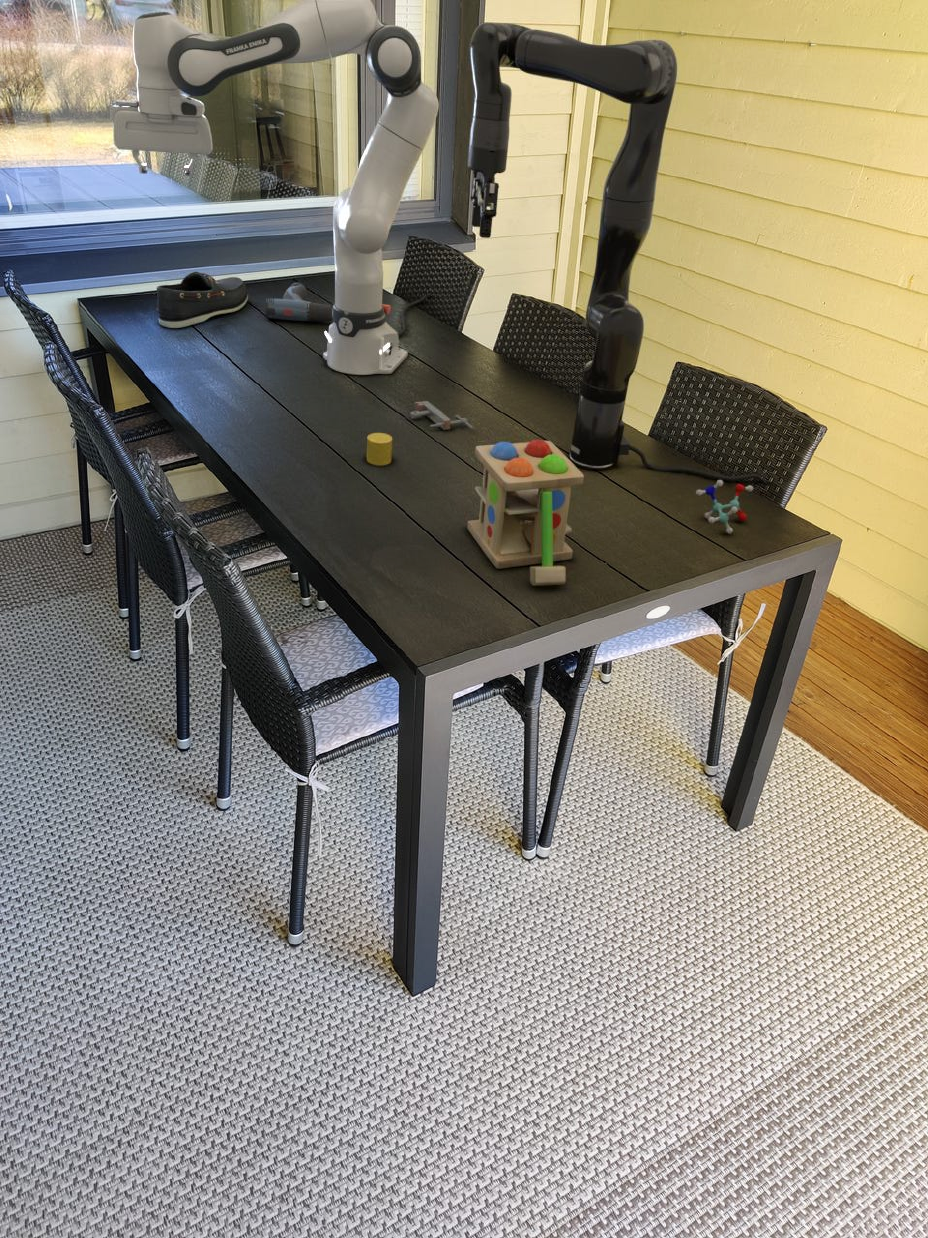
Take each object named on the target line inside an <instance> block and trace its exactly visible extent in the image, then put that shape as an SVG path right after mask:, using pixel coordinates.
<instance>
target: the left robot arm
mask: <svg viewBox="0 0 928 1238" xmlns="http://www.w3.org/2000/svg"><path fill="white" fill-rule="evenodd" d="M132 28H133V29H132V42H133V43H132V45H133V46H132V47H133V59H134V64H135V67H136V71H137V79H136V89H137V90H136V92H137V100H122V99H117V100H115V101H114V102H111V103H110V104H109V107H108V108H109V109H108V111H109V118H110V121H111V122H112V125H113V126H112V134H113V135H112V136H113V140H112V141H113V144H114V147H115V148H116V149H117V150H121V151H131V154H132V157H133V159H134V161H135V162H136V164H137V165H138V170H139V171H138V172H139V174H143V175H145V174H148V169H147V168H148V165H147V163H143V161H142V159H141V157H140V155H141V152H156V153H159V152H160V153H172V154H173V153H176V154H177V153H178V154H188V158H189V160H190V162H189V165H184V171H185V172H184V176H185V177H193V167H194V165H195V162H196V161H197V158H198V157H197V155H210V154H211V153H212V152H213V151H214V145H213V137H212V131H211V130H212V129H211V126H210V123H209V120H208V118H207V117H206V116H205V115H204V114H205V105H204V103H203V102H202V101H200V100H199V99H195V98H193V97H203V96H206V95H208V94H210V93H211V92H213V91H214V90H215V89H216V88H218V86H219V85H220V84H221V83H222V82H223V81H224V80H226V79H228V78H230V77H234V76H236V75H239V74H243V73H247V72H250V71H253V70H257V69H259V68H264V67H267V66H271V65H284V64H285V65H286V64H308V63H316V62H317V63H318V62H323V61H326V60H330V59H335V58H337V57H340V56H341V57H342V56H344V55H351V54H355V55H359V56H362V57H363V59H364V60H365V62H366V64H367V68H368V70H369V73H370V74H371V75H372V77H373V78H374V79H375V80H376V81H377V82H378V83H380V85H381V86H383V88H384V89H385V90H386V92H387V98H386V103H385V106H384V108H383V110H382V112H381V115H380V117H379V119H378V121H377V123H376V126H375V127H374V130H373V131H372V134H371V136H370V138H369V139H368V142H367V145H366V146H365V149H364V151H363V153H362V155H361V158H360V161H359V166H358V169H357V171H356V175H355V177H354V181H353V184H352V186H351V187H347V188H346V189H344V190H343V191H341V192H340V194H338V196H337V197H336V199H335V201H334V204H333V210H332V226H333V227H332V229H333V254H334V255H333V257H334V303H333V305H332V307H333V311H332V314H333V320H332V323H331V324H330V325H329V326H328V332H327V331H326V330H325V331H324V335H325V337H326V339H327V346H326V347H327V348H326V351H324V352H323V353H322V358H323V359H324V360H326V362H327V363H326V365H327V366H328V367H329V368H330V369H332V370H334V371H336V372H339V373H341V374H342V373H343V374H347V375H356V376H369V375H379V374H380V375H389V374H392V373H393V372H394V371H395V370H396V369H397V368H398V367H399V366H400V365H401V364H402V363H403V361H405V360H406V359H407V357H408V356H409V354H408V353H409V351H407V350H405V349H403V348H401V347H399V345H400V344H399V343H400V342H399V341H400V340H399V339H400V337H401V336H402V335H403V334H404V333H405V332H406V330H407V326H406V319H405V314H406V312H407V310H408V309H409V308H411V307H413V306H415V305H417V304H420V303H422V302H423V301H425V300H426V299H427V298H428V297H427V295H426V294H425V295H423V296H422V297H421V298H419V299H418V300H415V301H413V302H410V303H408V304H407V305H406V306H404V307H403V309H402V312H401V322H402V329H401V331H399V332H398V331H397V330H396V329H394V328H393V327H392V326H391V325H390V324H389V323H388V322H387V319H386V314H387V315H388V314H391V308H392V306H391V305H390V304H385V303H383V292H384V290H383V288H384V268H383V267H384V266H383V251H382V250H383V249H382V248H383V247H384V246H385V245H386V243H387V240H388V238H389V233H390V231H391V228H392V225H393V223H394V220H395V218H396V215H397V213H398V210H399V207H400V204H401V202H402V198H403V195H404V193H405V190H406V187H407V184H408V182H409V180H410V178H411V175H412V174H413V173H414V172H413V171H414V170H415V168H416V166H417V164H418V162H419V160H420V157H421V155H422V154H423V151H424V150H425V148H426V145H427V143H428V141H429V138H430V136H431V134H432V130H433V128H434V125H435V122H436V119H437V116H438V112H439V107H440V106H439V105H440V104H439V98H438V97H437V95H436V93H435V92H434V91H433V89H432V88H430V87H429V86H428V85H427V84H426V83H424V82H423V81H422V53H421V49H420V46H419V43H418V41H417V39H416V38H415V36H414V35H413V33H411V32H410V31H409V30H407V29H406V28H405V27H403V26H399V25H396V24H395V25H394V24H393V25H392V24H387V23H385V22H382V21H380V20H379V17H378V14H377V10H376V8H375V5H374V3H373V2H372V0H302V1H299V2H297V3H295V4H293V5H291V6H289V7H287V8H285V9H284V10H282V11H280V13H279V14H278V15H276V16H275V17H274V18H273V19H271V20H270V21H269V22H267V23H266V24H264V25H262V26H260V27H259V28H256V29H254V30H251V31H248V32H244V33H241V34H237V35H233V36H230V37H227V38H223V39H220V40H219V39H218V40H215V39H214V38H213V37H211V36H209V35H207V34H204V33H202V32H199V31H197V30H195V29H193V28H191V27H189V26H188V25H186V24H184V23H183V22H181V21H180V20H179V19H177V18H176V17H175V16H174V15H173V14H172V13H171V12H168V11H156V12H148V13H144V14H141V15H140V16H138V17H137V18H136V19H135V20H134V22H133V27H132ZM182 92H183V93H184V94H183V93H182ZM187 95H189V96H187ZM190 96H192V97H190ZM429 297H430V298H431V299H432V298H434V295H432V296H431V295H430V296H429Z"/></svg>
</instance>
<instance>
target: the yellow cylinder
mask: <svg viewBox="0 0 928 1238" xmlns="http://www.w3.org/2000/svg"><path fill="white" fill-rule="evenodd" d="M366 437H367V438H366V440H367V441H366V442H367V443H366V462H367V463H368V464H371V465H373V466H387V465H389V464H391V462H392V458H393V457H392V453H393V437H392V436H391V435H390V434H388V433H383V432H373V433H370V434H368V435H367V436H366Z"/></svg>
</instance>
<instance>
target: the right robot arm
mask: <svg viewBox="0 0 928 1238" xmlns="http://www.w3.org/2000/svg"><path fill="white" fill-rule="evenodd" d="M470 38H471V39H470V43H469V62H470V68H471V75H472V76H471V77H472V84H473V89H474V97H473V109H472V119H471V124H470V130H469V141H468V154H467V168H468V170H470V171H472V181H471V182H472V183H471V193H470V201H471V205H472V213H471V214H472V216H471V225H472V227H473V228H479V232H478V236H479V237H480V238H483V239H489V238H491V236H492V228H493V226H492V225H493V219H494V218H495V217H497V209H498V198H499V189H500V185H499V183H498V182H496V177H495V176H496V174H503V173H505V172H506V170H507V163H508V152H509V142H510V118H511V110H512V109H511V108H512V98H513V97H512V95H513V93H512V92H513V91H512V88H511V86H510V85H509V84H507V83H506V82H502V77H501V70H500V69H501V68H511V69H519V70H520V71H521V72H523V73H526V74H528V75H532V76H536V77H541V78H546V79H551V80H556V81H563V82H568V83H574V84H578V85H581V86H584V87H587V88H590V89H592V90H595V91H597V92H599V93H602V94H603V95H605V96H608V97H610V98H613V99H614V100H617V101H619V102H622V103H624V104H627V105H629V114H628V121H627V127H626V131H625V134H624V138H623V140H622V142H621V144H620V145H621V146H620V147H619V149H618V151H617V154H616V155H615V158H614V160H613V162H612V164H611V166H610V169H609V170H608V173H607V176H606V179H605V182H604V185H603V192H602V199H601V200H602V201H601V210H600V218H599V219H600V220H599V231H598V239H597V248H596V259H595V267H594V273H593V279H592V283H591V288H590V291H589V292H590V293H589V297H588V301H587V306H586V310H585V311H586V312H585V326H586V329H587V331H588V333H589V335H590V336H591V337H592V338H593V340H595V341H596V343H595V348H594V352H593V357H592V360H589V361H588V362H586V363H585V364H584V366H583V370H582V375H581V382H580V389H579V396H578V401H577V402H578V403H577V408H576V414H575V420H574V428H573V434H572V441H571V445H570V452H569V456H568V459H569V460H570V461H571V462H572V463H573V464H574V465H575V466H576V467H577V466H578V467H579V468H583V469H587V470H592V471H604V470H609V469H610V468H616V467H618V462H619V457H620V456H628V455H629V452H630V451H632V452H634V453H635V454H637V455H638V456H639V457H640V459H641V462H642V465H643V466H645V467H646V468H647V469H649V470H652V471H659V472H669V473H670V472H671V473H672V472H673V473H675V472H681V473H688V474H694V475H698V476H702V477H705V478H711V479H715V480H722V481H726V482H737V481H743V480H748V479H756V480H758V481H759V482H761V483H762V484H768V481H767V480H766V479H765V478H764V477H763V478H762V479H761V476H762V475H760V474H757V473H747V474H743V475H738V476H728V475H727V476H726V475H720V474H716V473H712V472H706V471H703V470H699V469H694V468H689V467H681V466H673V467H661V466H657V465H656V466H655V465H653V464H651V463H649V462H648V461H647V458H646V456H645V453H643V451H642V450H640V449H639V448H637V447H635V446H634V445H631V444H630V442H629V441H628V440H627V438H626V437H625V435H624V430H625V422H624V421H623V416H624V411H625V406H626V400H627V394H628V388H629V384H630V379H631V377H632V375H633V373H634V372H635V369H636V367H637V364H638V359H639V355H640V352H641V347H642V341H643V337H644V331H645V322H644V316H643V314H642V313H641V311H640V310H639V309H638V308H637V307H636V306H635V305H633V304H632V303H630V300H629V299H630V282H631V275H632V271H633V265H634V263H635V260H636V258H637V256H638V254H639V252H640V251H641V249H642V246H643V245H644V243H645V241H646V238H647V236H648V234H649V231H650V228H651V224H652V220H653V213H654V205H655V200H656V190H657V181H658V175H659V168H660V161H661V156H662V149H663V142H664V135H665V130H666V126H667V122H668V119H669V118H668V117H669V113H670V110H671V105H672V101H673V97H674V93H675V88H676V85H677V78H678V60H677V56H676V53H675V51H674V49H673V47H672V46H671V45H670V44H669V43H668V42H667V41H664V40H661V39H647V40H633V41H630V42H627V43H620V44H619V43H617V44H594V43H593V44H592V43H588V42H583V41H580V40H579V39H576V38H574V37H572V36H569V35H567V34H563V33H559V32H554V31H549V30H543V29H532V28H530V27H528V26H527V27H526V26H523V25H521V24H516V23H508V22H483V23H481V24H479V25H477V27H476V28H475V29H474V32H473V33H472V36H471V37H470Z"/></svg>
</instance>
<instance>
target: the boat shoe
mask: <svg viewBox="0 0 928 1238" xmlns="http://www.w3.org/2000/svg"><path fill="white" fill-rule="evenodd" d="M156 293H157V294H156V295H157V305H156V306H157V308H156V309H155V311H156V313H158V323H159V325H160V326H162V327H166V328H169V329H170V328H171V329H178V328H185V327H188V326H189V327H190V326H192V325H196V324H199V323H203V322H205V321H206V320H209V318H211V317H214V316H218V315H222V314H228V313H234V312H236V311H239V310H240V309H242V308H243V307H244V306H245V305H246V304H247V303H248V301H249V292H248V290H247V286H246V284H245V283H244V281H243V280H242V278H240V277H236V276H231V277H225V278H220V279H217V280H216V279H215V278H214V277H213V276H212V275H210V274H207V273H204V272H199V271H192V272H190V273H188V274H187V275H185V276H184V278H183V279H182V280H181V282H180V283H174V284H162V285H158V286H157V287H156Z"/></svg>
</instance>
